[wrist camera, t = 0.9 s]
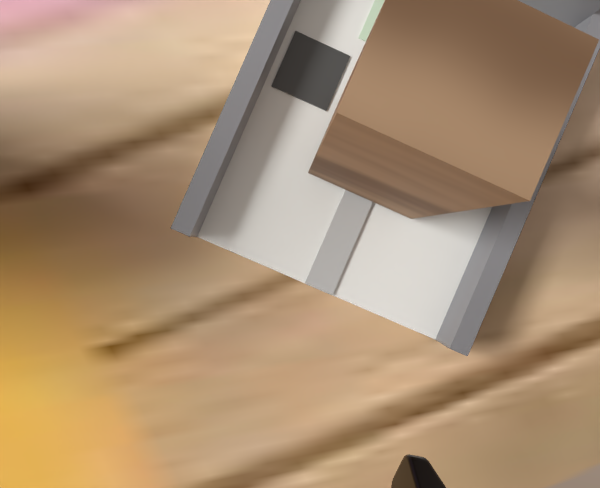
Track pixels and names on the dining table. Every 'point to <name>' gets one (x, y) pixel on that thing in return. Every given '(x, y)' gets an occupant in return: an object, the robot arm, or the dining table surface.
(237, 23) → the dining table surface
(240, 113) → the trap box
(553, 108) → the slider
